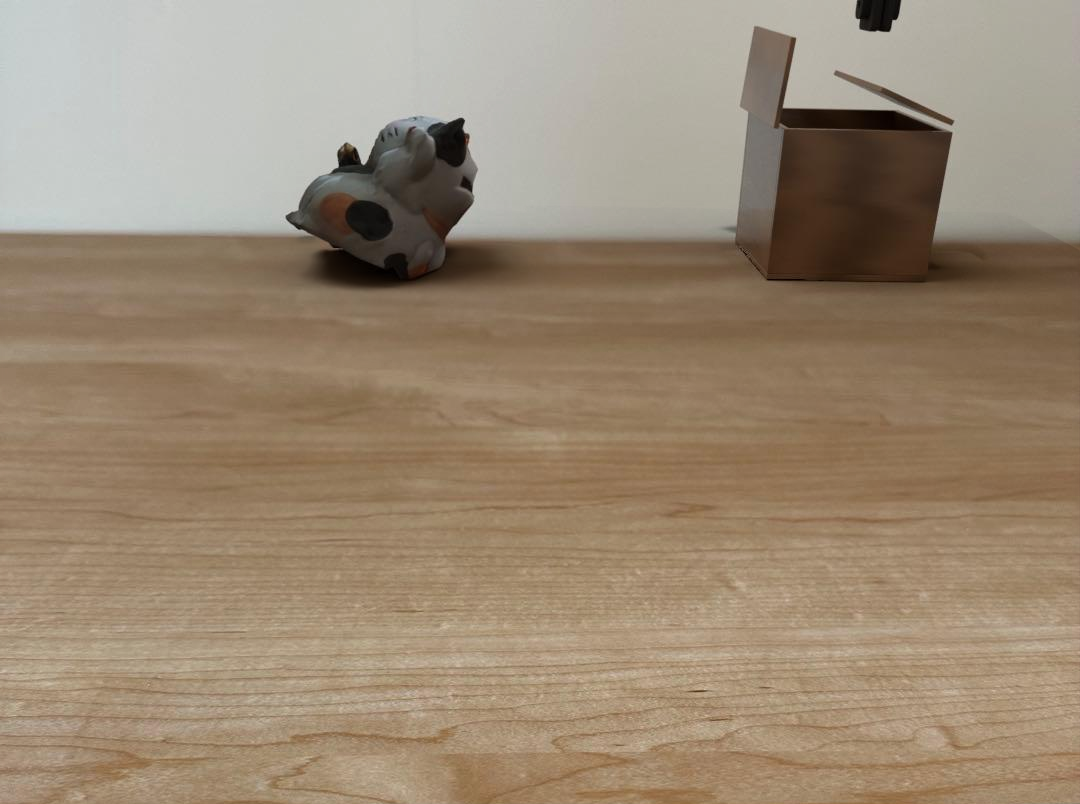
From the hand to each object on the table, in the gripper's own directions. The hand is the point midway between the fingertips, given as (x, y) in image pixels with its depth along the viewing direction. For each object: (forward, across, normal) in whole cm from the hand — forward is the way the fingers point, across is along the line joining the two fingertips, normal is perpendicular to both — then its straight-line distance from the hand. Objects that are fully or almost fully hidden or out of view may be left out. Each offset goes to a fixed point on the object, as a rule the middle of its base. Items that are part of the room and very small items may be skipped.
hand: (874, 30), depth 89 cm
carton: (+18, +1, 0) cm, 18 cm away
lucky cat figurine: (+18, +38, +2) cm, 43 cm away
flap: (+5, -2, 0) cm, 5 cm away
